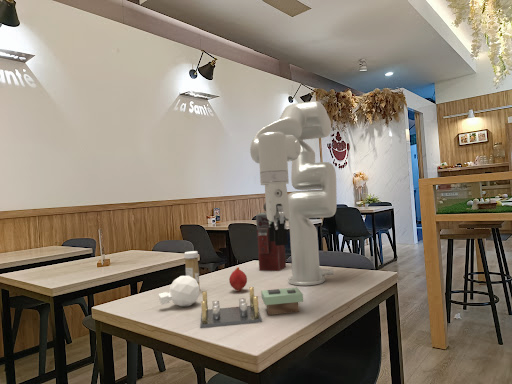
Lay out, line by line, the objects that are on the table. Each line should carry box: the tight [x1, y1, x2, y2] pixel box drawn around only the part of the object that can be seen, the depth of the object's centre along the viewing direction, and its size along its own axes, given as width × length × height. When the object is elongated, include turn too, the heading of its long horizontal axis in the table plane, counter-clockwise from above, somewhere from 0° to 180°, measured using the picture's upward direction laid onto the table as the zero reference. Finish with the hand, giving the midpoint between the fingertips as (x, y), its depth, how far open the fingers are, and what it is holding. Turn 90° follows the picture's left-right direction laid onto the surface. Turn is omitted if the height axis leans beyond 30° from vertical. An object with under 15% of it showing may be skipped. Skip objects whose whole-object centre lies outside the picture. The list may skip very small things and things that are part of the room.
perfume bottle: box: [158, 275, 201, 308], centre depth 113 cm, size 9×9×12 cm
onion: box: [229, 266, 248, 292], centre depth 126 cm, size 6×6×8 cm
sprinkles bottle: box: [183, 250, 201, 291], centre depth 129 cm, size 5×5×14 cm
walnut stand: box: [265, 302, 300, 315], centre depth 102 cm, size 8×4×3 cm, turn 97°
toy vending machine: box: [255, 202, 287, 272], centre depth 160 cm, size 9×11×28 cm
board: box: [260, 287, 304, 306], centre depth 102 cm, size 10×7×3 cm
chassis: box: [199, 286, 263, 329], centre depth 100 cm, size 15×12×6 cm
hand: (278, 243), depth 102 cm, fingers open, 9 cm apart
